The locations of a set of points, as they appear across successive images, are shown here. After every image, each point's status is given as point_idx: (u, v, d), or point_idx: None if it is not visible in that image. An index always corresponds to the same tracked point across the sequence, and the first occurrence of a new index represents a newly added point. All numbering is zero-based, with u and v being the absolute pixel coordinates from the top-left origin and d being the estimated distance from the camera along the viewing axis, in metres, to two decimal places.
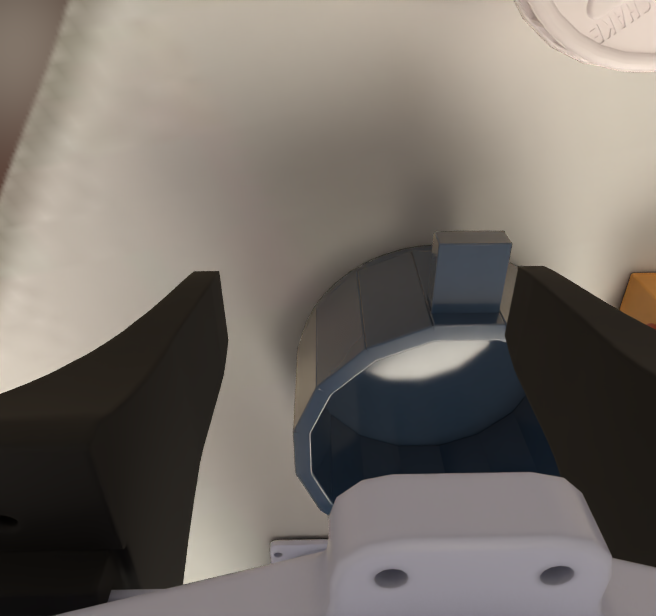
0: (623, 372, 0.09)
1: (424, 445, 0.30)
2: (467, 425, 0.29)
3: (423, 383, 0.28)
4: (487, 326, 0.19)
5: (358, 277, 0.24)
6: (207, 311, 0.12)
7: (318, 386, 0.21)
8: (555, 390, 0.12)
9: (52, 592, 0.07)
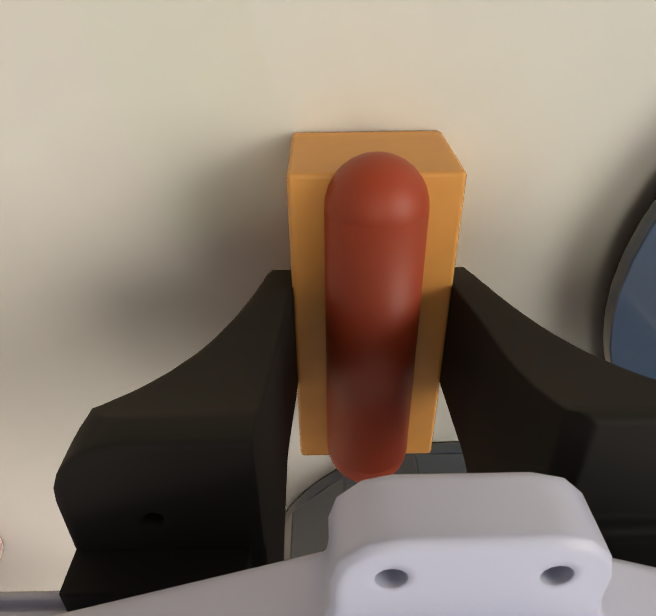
0: (505, 374, 0.09)
1: None
2: None
3: None
4: None
5: None
6: (293, 310, 0.12)
7: None
8: (463, 391, 0.12)
9: None
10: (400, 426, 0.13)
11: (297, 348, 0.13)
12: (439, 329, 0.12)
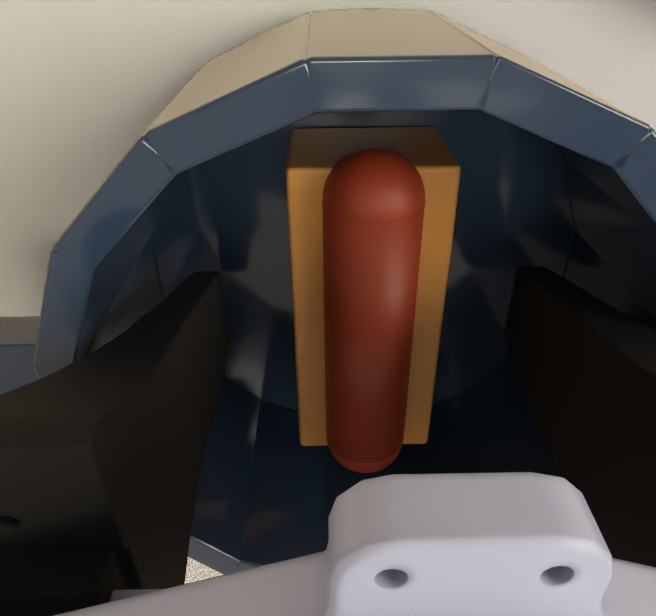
0: (621, 372, 0.09)
1: (571, 255, 0.15)
2: (531, 179, 0.14)
3: None
4: None
5: None
6: (208, 311, 0.12)
7: (227, 570, 0.13)
8: (554, 390, 0.12)
9: (54, 592, 0.07)
10: (397, 416, 0.13)
11: (296, 339, 0.13)
12: (435, 321, 0.13)
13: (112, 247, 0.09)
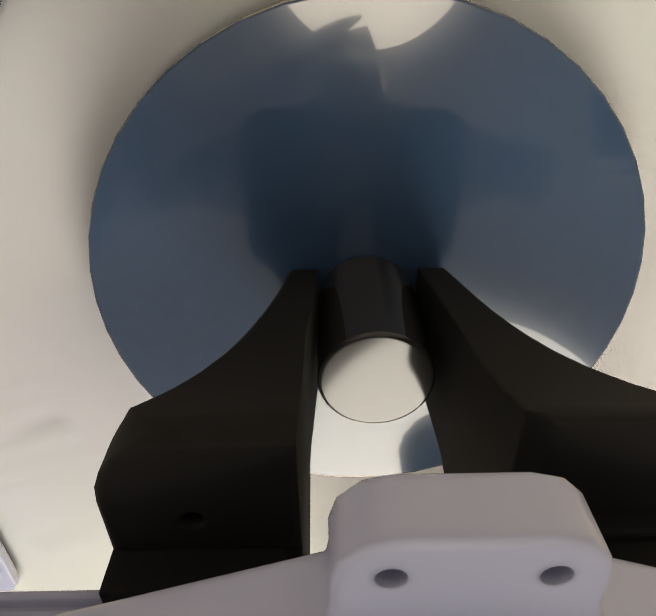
0: (476, 375, 0.09)
1: None
2: None
3: None
4: None
5: None
6: (315, 309, 0.12)
7: None
8: (440, 392, 0.12)
9: None
10: None
11: None
12: None
13: None
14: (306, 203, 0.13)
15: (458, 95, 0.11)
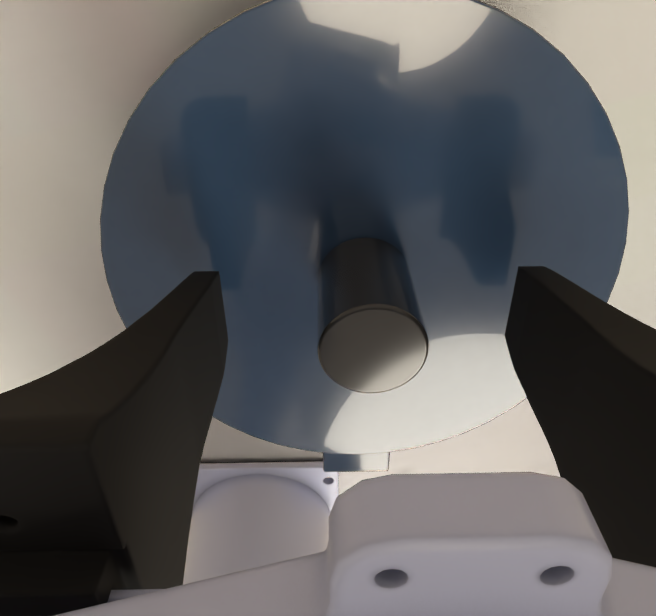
0: (622, 371, 0.09)
1: None
2: None
3: None
4: None
5: None
6: (207, 311, 0.12)
7: None
8: (555, 390, 0.12)
9: (52, 592, 0.07)
10: None
11: None
12: None
13: None
14: (307, 186, 0.13)
15: (450, 82, 0.12)
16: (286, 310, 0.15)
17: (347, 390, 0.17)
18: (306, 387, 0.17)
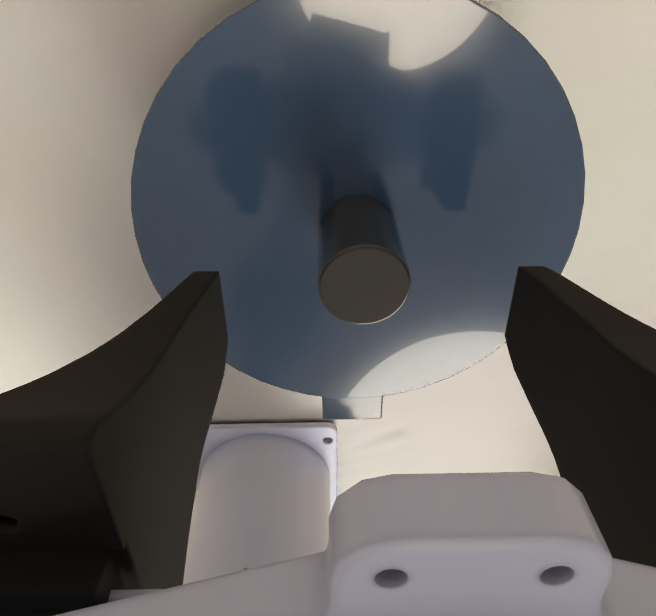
0: (623, 372, 0.09)
1: None
2: None
3: None
4: None
5: None
6: (207, 311, 0.12)
7: None
8: (555, 390, 0.12)
9: (52, 592, 0.07)
10: None
11: None
12: None
13: None
14: (308, 150, 0.16)
15: (429, 60, 0.14)
16: (290, 262, 0.17)
17: (344, 337, 0.19)
18: (307, 334, 0.19)
